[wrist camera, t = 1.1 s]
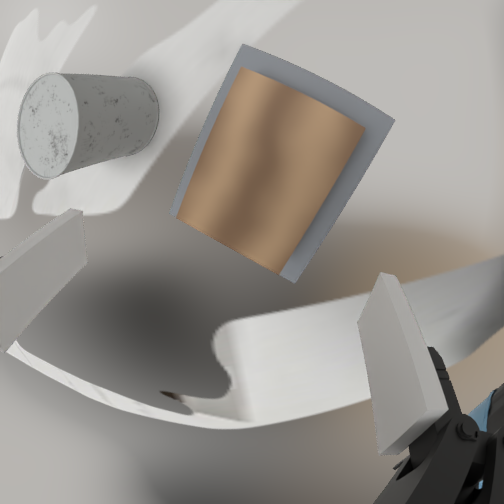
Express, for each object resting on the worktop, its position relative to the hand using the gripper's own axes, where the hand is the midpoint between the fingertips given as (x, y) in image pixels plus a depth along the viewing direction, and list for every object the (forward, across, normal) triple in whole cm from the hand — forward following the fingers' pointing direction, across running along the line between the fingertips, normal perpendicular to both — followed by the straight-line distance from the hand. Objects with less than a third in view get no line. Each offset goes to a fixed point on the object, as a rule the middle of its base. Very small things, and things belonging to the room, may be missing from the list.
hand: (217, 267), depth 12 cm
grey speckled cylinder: (+22, +17, -3) cm, 27 cm away
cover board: (+19, -1, 0) cm, 19 cm away
